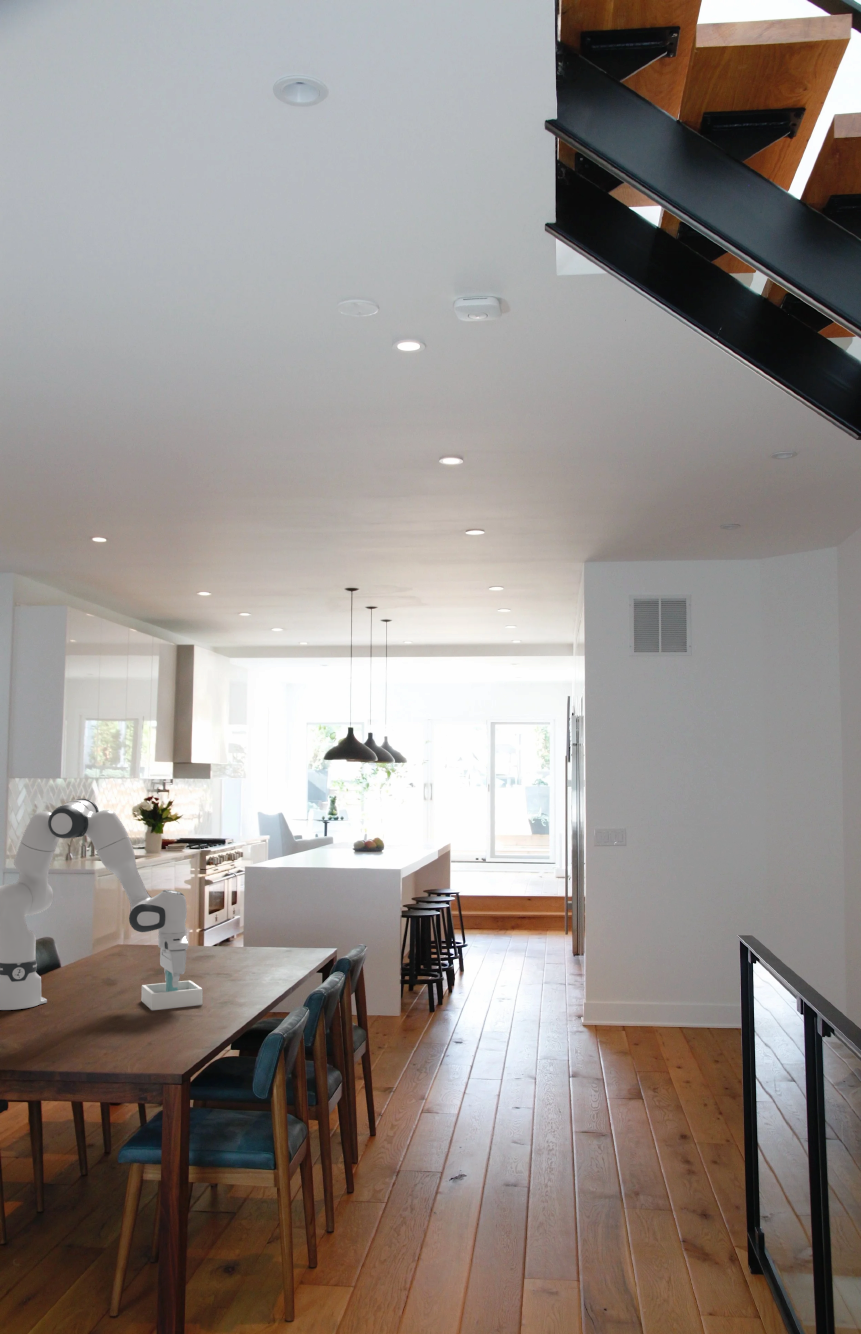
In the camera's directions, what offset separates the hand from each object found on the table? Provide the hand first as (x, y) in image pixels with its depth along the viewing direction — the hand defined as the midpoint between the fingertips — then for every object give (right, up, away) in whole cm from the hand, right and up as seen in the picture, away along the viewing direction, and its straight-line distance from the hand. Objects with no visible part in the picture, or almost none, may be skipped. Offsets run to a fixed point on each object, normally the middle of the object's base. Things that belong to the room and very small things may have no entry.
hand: (171, 984), depth 335 cm
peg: (0, -6, -1) cm, 6 cm away
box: (0, -6, -1) cm, 6 cm away
